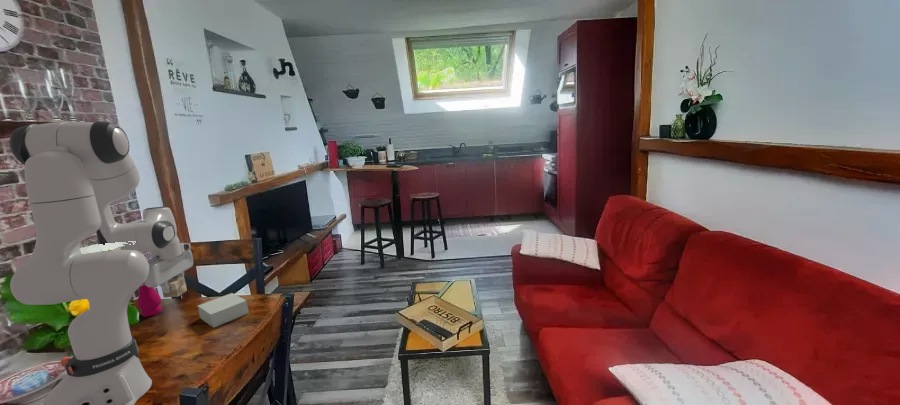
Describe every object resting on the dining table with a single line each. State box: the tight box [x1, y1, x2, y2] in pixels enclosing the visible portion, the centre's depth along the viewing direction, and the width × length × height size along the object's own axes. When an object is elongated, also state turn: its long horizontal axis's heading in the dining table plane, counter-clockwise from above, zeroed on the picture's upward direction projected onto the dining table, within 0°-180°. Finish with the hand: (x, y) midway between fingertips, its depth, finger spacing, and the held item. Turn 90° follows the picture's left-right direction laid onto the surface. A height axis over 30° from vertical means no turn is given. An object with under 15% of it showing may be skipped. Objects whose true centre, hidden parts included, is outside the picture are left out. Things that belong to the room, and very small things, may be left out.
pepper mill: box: [136, 282, 163, 318], centre depth 145 cm, size 7×7×20 cm
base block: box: [197, 292, 250, 329], centre depth 141 cm, size 12×12×5 cm
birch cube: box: [160, 277, 188, 298], centre depth 138 cm, size 5×5×5 cm
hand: (174, 288), depth 138 cm, fingers closed on birch cube, 5 cm apart
